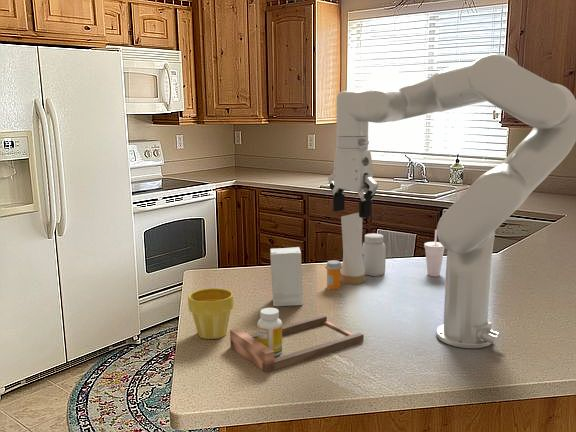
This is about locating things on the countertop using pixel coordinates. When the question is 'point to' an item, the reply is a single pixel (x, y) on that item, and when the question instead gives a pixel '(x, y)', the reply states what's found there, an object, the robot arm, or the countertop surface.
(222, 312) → the plant pot
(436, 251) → the smoothie
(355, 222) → the toiletry set
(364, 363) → the countertop surface
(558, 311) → the countertop surface
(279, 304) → the skincare box
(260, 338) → the supplement bottle
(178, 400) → the countertop surface
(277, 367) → the frame
